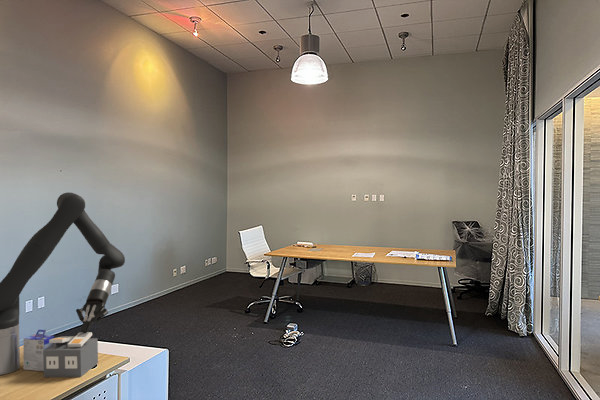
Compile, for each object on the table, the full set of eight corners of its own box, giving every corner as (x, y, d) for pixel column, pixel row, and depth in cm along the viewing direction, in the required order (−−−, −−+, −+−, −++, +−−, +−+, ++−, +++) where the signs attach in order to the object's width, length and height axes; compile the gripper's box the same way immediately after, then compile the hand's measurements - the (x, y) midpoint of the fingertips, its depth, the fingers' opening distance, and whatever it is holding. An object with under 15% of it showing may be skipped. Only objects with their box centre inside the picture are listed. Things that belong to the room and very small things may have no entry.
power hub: (43, 377, 147) (42, 348, 147) (63, 363, 159) (62, 336, 159) (80, 377, 147) (79, 348, 147) (98, 363, 159) (97, 336, 159)
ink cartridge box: (56, 365, 157) (55, 329, 157) (44, 372, 152) (43, 334, 152) (34, 364, 159) (34, 328, 159) (22, 370, 154) (21, 332, 154)
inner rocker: (49, 342, 149) (49, 339, 149) (62, 339, 157) (62, 336, 157) (62, 342, 149) (62, 339, 149) (74, 339, 157) (74, 336, 157)
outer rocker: (68, 346, 149) (67, 343, 149) (79, 335, 157) (79, 332, 157) (81, 346, 149) (80, 343, 149) (92, 335, 157) (91, 332, 157)
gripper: (80, 288, 165) (63, 327, 153) (111, 287, 165) (97, 327, 153) (87, 297, 170) (71, 336, 158) (118, 297, 170) (104, 335, 158)
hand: (84, 331), depth 156 cm, fingers closed
